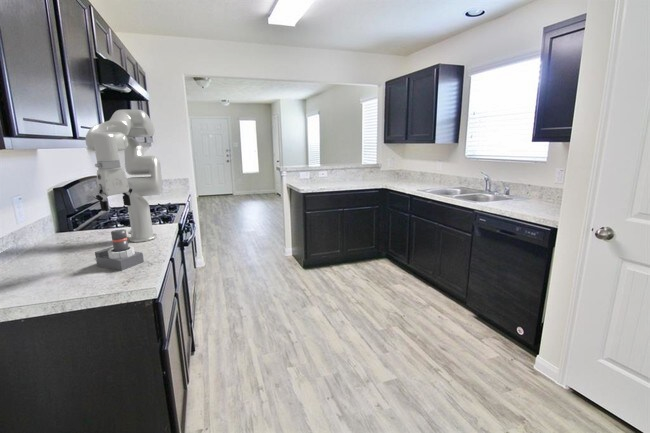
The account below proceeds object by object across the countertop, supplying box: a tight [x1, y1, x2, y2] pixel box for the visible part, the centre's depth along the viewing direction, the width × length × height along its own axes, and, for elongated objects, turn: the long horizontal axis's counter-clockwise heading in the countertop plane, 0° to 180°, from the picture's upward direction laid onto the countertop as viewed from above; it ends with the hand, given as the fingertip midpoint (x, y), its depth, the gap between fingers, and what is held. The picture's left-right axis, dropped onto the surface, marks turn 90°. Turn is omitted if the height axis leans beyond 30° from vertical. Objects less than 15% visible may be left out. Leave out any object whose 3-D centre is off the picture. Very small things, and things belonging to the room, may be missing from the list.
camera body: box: [94, 245, 145, 271], centre depth 138 cm, size 14×10×6 cm
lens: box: [110, 228, 129, 252], centre depth 136 cm, size 5×5×10 cm
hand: (116, 208), depth 136 cm, fingers open, 9 cm apart
